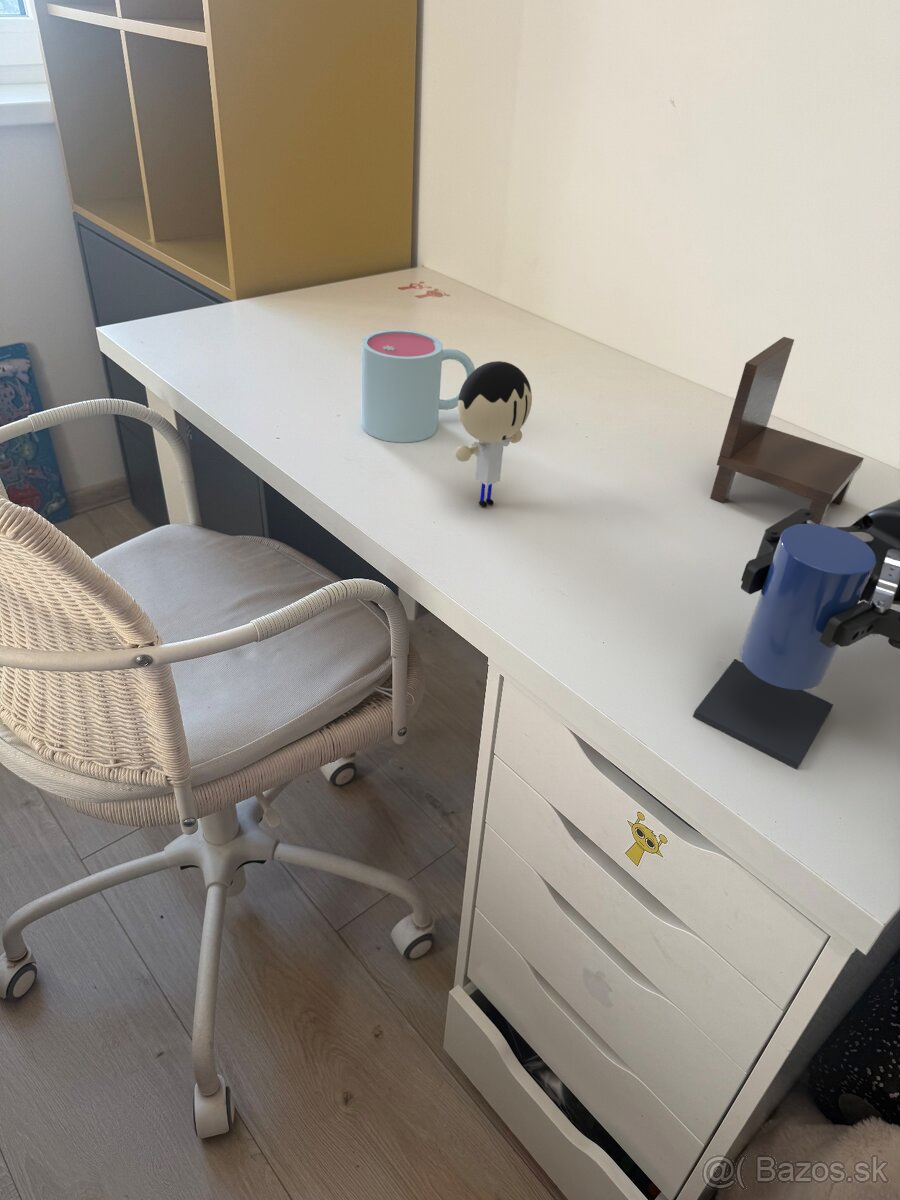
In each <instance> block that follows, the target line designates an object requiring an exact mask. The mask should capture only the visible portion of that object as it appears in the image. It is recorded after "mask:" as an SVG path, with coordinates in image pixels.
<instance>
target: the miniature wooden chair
mask: <svg viewBox="0 0 900 1200" xmlns="http://www.w3.org/2000/svg"><path fill="white" fill-rule="evenodd" d="M794 343H795V339H793V338H790V337H787V336H783V337H781V338H779V339H778V340H777V341H775V342H773V343H772V344H771V345H769V346H768V347H766V348H765V349H764V350H762V351H761V352H759V353H758V354H756V355H755V356H753V357H751V358H750V359H749V360H748V361H746V362H745V363H744V367H743V371H742V374H741V378H740V381H739V385H738V389H737V392H736V395H735V398H734V403H733V406H732V409H731V413H730V417H729V420H728V424H727V426H726V429H725V433H724V437H723V441H722V444H721V448H720V451H719V455H718V459H717V461H716V466H718V469H717V472H716V476H715V479H714V483H713V486H712V490H711V493H710V496H709V498H710V499H711V500H714V501H716V502H719V503H725V501H726V500H727V499H728V498H729V496H730V492H731V489H732V486H733V483H734V479H735V475H736V473H738V474H741V475H743V476H746V477H749V478H752V479H754V480H757V481H761V482H763V483H767V484H770V485H772V486H775V487H778V488H781V489H784V490H787V491H790V492H792V493H795V494H797V495H801V496H804V497H806V498H810V499H811V503H810V505H809V508H808V510H811V511H813V512H814V513H815V516H814V519H813V521H812V522H813V523H815V524H819V525H823V523H824V520H825V517H826V515H827V512H828V510H829V507H830V505H831V504H832V503H834V504H838V505H842V503H843V502H844V501H845V499H846V497H847V494H848V492H849V490H850V486H851V484H852V482H853V479H854V477H855V475H856V474H857V472H858V471H859V470H860V469H861V467H862V464H863V463H864V460H865V458H864V457H863V456H859V455H857V454H853V453H849V452H847V451H843V450H840V449H837V448H834V447H831V446H828V445H825V444H822V443H819V442H815V441H813V440H809V439H806V438H804V437H803V438H802V437H799V436H796V435H793V434H791V433H787V432H783V431H781V430H778V429H776V428H775V429H774V428H771V427H768V424H769V421H770V418H771V414H772V412H773V408H774V406H775V402H776V400H777V395H778V393H779V390H780V386H781V383H782V380H783V377H784V374H785V370H786V367H787V364H788V361H789V358H790V356H791V352H792V349H793V345H794Z"/></svg>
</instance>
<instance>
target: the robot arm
mask: <svg viewBox="0 0 900 1200" xmlns="http://www.w3.org/2000/svg"><path fill="white" fill-rule="evenodd" d="M814 516H815V513H814V512H813V511H811V510H809V508H800V509H798V510H796V511H795V512H793V513H792V514H790V515H788V516H786V517H784V518H783V519H781V520H780V521H778V522H776V523H774V524H773V525H770V526H769V527H767V528H766V529H765V531H764V533H763V536H762V539H761V541H760V545H759V548H758V551H757V554H756V556H755V558H752V559H750V560H748V561H747V563H746V565H745V567H744V570H743V573H742V576H741V578H740V579H741V580H740V581H741V584H740V589H741V590H742V591H743V592H745V593H747V594H748V595H753V594H755V593H757V592H761V590H762V587H763V584H764V581H765V579H766V576H767V573H768V570H769V567H770V565H771V562H772V559H773V556H774V553H775V551H776V548H777V545H778V542H779V539H780V537H781V534H782V533H783V531H784V530H785V529H787V528H789V527H791V526H794V525H798V524H815V523H813V522H812V521H813V519H814ZM833 527H834V526H833ZM834 528H837V529H840V530H843V531H846V532H848V533H850V534H852V535H854V536H856V537H858V538H859V539H861V540H862V541H863V542H865V543H866V544H867V545H868V546H869V547H870V548H871V549H872V550H873V552H874V554H875V556H876V564H875V567H874V569H873V571H872V573H871V576H870V578H869V580H868V582H867V585H866V587H865V589H864V591H863V593H862V596H861V598H860V600H859V602H858V604H856V605H854V606H853V607H850V608H848V609H846V610H844V611H842V612H840V613H838V614H836V615H834V616H833V617H831V618H830V619H829V621H828V622H827V624H826V627H825V629H824V631H823V634H822V636H821V638H820V642H821V643H823V644H824V645H826V646H827V647H828V648H832V647H834V646H835V645H837V644H838V645H839V647H841V648H843V647H849V646H851V645H853V644H855V643H857V642H859V641H861V640H862V639H864V638H866V637H869V638H875V637H878V635H880V636H882V637H886V638H887V642H888V644H889V645H890V646H891V647H893V648H895V649H898V650H900V611H898V610H895V609H893V608H892V606H893V605H894V606H895V605H897V606H900V498H899V499H897V500H894V501H892V502H890V503H887V504H885V505H882V506H879V507H877V508H875V509H873V510H870V511H868V512H867V513H865V514H863V516H861V517H860V518H859V519H857V520H856V521H855V522H854V523H852V524H851V525H850V526H835V527H834Z"/></svg>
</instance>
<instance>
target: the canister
mask: <svg viewBox="0 0 900 1200" xmlns="http://www.w3.org/2000/svg"><path fill="white" fill-rule="evenodd" d="M875 564H876V556H875V554H874V552H873V550H872V549H871V548H870V547H869V546H868V545H867V544H866V543H865V542H863V541H862V540H861V539H859V538H858V537H856V536H854V535H852V534H850V533H848V532H846V531H843V530H840V529H837V528H834V526H830V525H824V524H822V525H819V524H798V525H794V526H791V527H789V528H787V529H785V530H784V531H783V533H782V534H781V537H780V539H779V542H778V545H777V548H776V551H775V553H774V556H773V559H772V562H771V565H770V567H769V570H768V573H767V576H766V579H765V581H764V584H763V587H762V590H760V593H759V596H758V598H757V601H756V603H755V607H754V609H753V612H752V615H751V617H750V621H749V623H748V626H747V629H746V632H745V634H744V637H743V639H742V643H741V646H740V650H739V654H740V658H741V662H743V663H744V665H745V666H746V667H747V668H748V670H749V671H750V672H752V673H753V674H754V675H755V676H757V677H758V678H760V679H761V680H763V681H765V682H767V683H769V684H772V685H774V686H777V687H780V688H785V689H790V690H804V691H807V690H810V689H813V688H815V687H817V686H820V684H821V683H822V682H823V681H824V680H825V678H826V675H827V673H828V671H829V669H830V666H831V664H832V662H833V660H834V657H835V655H836V653H837V651H838V649H839V647H840V646H839V645H838V644H837V645H835V646H834V647H832V648H828V647H827V646H826V645H824V644H823V643H821V642H820V638H821V636H822V634H823V631H824V629H825V627H826V624H827V622H828V621H829V619H830V618H831V617H833V616H834V615H836V614H838V613H840V612H842V611H844V610H846V609H848V608H850V607H853V606H854V605H856V604H858V603H860V601H859V600H860V598H861V596H862V593H863V591H864V589H865V587H866V585H867V582H868V580H869V578H870V576H871V573H872V571H873V569H874V567H875Z"/></svg>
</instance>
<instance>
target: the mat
mask: <svg viewBox="0 0 900 1200" xmlns="http://www.w3.org/2000/svg"><path fill="white" fill-rule="evenodd" d="M833 707H834V703H831V702H830V701H828V700H825V699H823V698H821V697H819V696H816V695H814V694H812V693H810V692H807V690H790V689H785V688H780V687H777V686H774V685H772V684H769V683H767V682H765V681H763V680H761V679H760V678H758V677H757V676H755V675H754V674H753V673H752V672H750V671H749V670H748V668H747V667H746V666H745V665H744V663H743V661H741V660H738V659H736V658H735V659H733V660H732V662H731V663H730V664H729V666H728V667H727V668H726V669H725V670H724V672H723V674H722V675H721V676H720V677H719V679H718V680H717V681H716V683H715V684H714V685H713V686H712V687H711V689H710V690H709V691H708V693H707V694H706V696H705V697H704V698H703V699H702V700H701V702H700V703H699V705H698V706H697V707H696V708H695V710H694V711H693V715H692V717H693V718H695V719H697V720H699V721H700V722H703V723H704V724H706V725H709V726H711V727H712V728H714V729H716V730H719V731H721V732H722V733H725V734H727V735H729V736H730V737H732V738H734V739H737V740H738V741H741V742H742V743H744V744H747V745H748V746H749V747H752V748H754V749H756V750H758V751H760V752H762V753H764V754H766V755H768V756H770V757H771V758H774V759H776V760H778V761H779V762H781V763H784V764H786V765H788V766H790V767H792V768H794V769H795V770H797V769H798V768H799V767H800V765H801V764H802V762H803V760H804V758H805V756H806V755H807V753H808V752H809V749H810V748H811V746H812V744H813V742H814V740H815V739H816V737H817V735H818V734H819V732H820V730H821V728H822V727H823V725H824V723H825V721H826V720H827V718H828V716H829V714H830V712H831V711H832V708H833Z"/></svg>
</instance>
